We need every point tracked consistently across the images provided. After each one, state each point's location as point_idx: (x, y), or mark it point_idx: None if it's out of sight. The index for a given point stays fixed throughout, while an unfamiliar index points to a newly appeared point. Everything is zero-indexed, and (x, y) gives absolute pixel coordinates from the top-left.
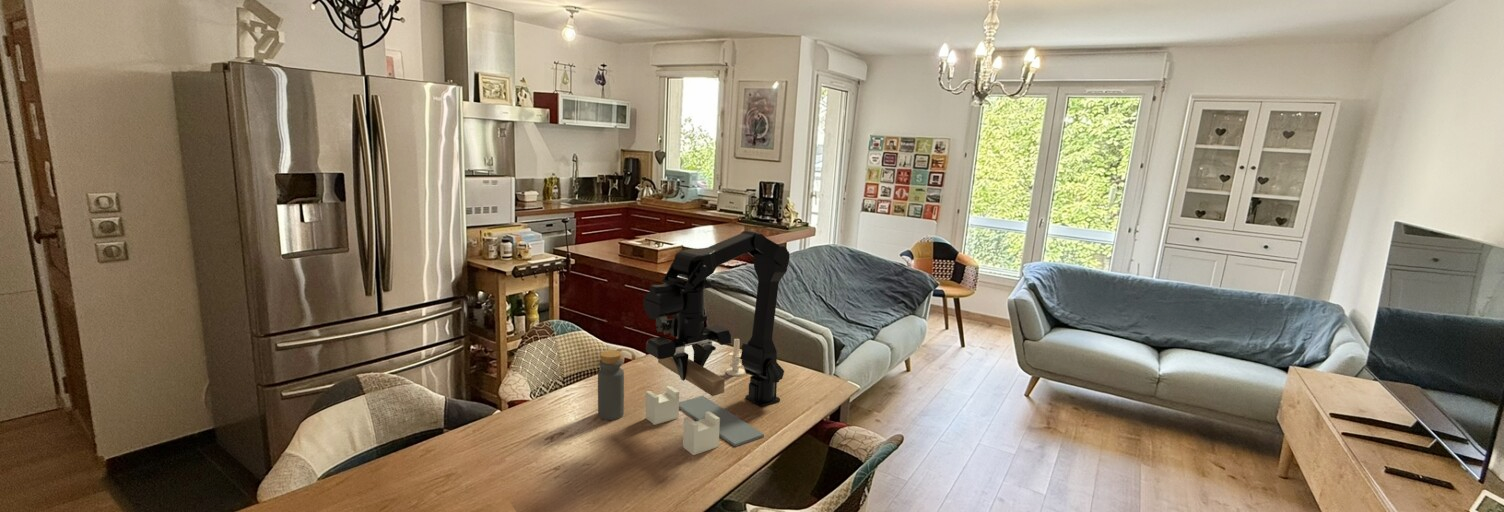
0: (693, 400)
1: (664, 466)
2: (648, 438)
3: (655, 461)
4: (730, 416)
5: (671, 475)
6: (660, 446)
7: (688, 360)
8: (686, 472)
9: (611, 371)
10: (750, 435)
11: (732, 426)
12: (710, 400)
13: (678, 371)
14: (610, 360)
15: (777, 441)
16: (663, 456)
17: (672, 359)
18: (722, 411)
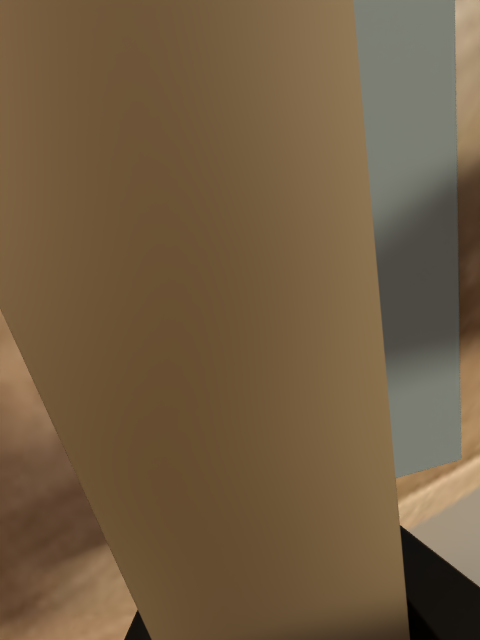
0: (366, 7)
1: (39, 546)
2: (4, 345)
3: (10, 514)
4: (437, 289)
5: (53, 593)
6: (50, 422)
7: (356, 627)
8: (108, 586)
9: None
10: (413, 456)
11: (393, 377)
12: (454, 57)
13: (135, 631)
14: None
15: (471, 488)
16: (48, 491)
17: (91, 488)
18: (434, 225)
